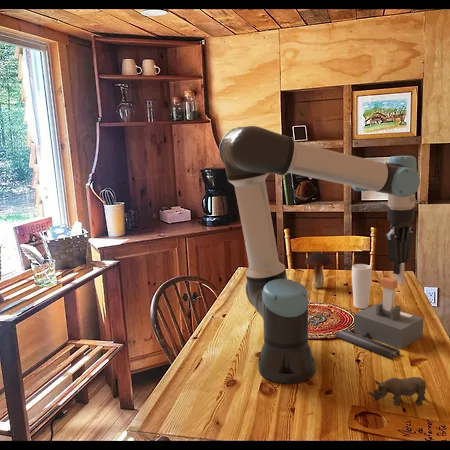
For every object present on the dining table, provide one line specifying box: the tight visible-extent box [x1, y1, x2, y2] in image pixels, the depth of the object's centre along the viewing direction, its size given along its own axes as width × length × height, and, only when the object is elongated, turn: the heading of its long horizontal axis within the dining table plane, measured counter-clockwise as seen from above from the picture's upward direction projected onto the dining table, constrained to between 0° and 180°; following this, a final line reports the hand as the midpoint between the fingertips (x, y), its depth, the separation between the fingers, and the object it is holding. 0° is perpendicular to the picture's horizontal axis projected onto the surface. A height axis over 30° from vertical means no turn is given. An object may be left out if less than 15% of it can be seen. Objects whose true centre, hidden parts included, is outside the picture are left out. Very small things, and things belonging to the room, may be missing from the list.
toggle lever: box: [380, 276, 398, 315], centre depth 135 cm, size 2×4×11 cm, turn 37°
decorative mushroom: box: [304, 251, 333, 289], centre depth 180 cm, size 11×11×15 cm
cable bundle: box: [335, 329, 401, 359], centre depth 131 cm, size 8×19×1 cm, turn 38°
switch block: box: [353, 301, 424, 350], centre depth 136 cm, size 12×16×10 cm
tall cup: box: [351, 263, 373, 310], centre depth 158 cm, size 7×7×15 cm
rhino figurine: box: [367, 376, 427, 407], centre depth 102 cm, size 4×14×6 cm, turn 91°
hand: (398, 283), depth 137 cm, fingers closed
